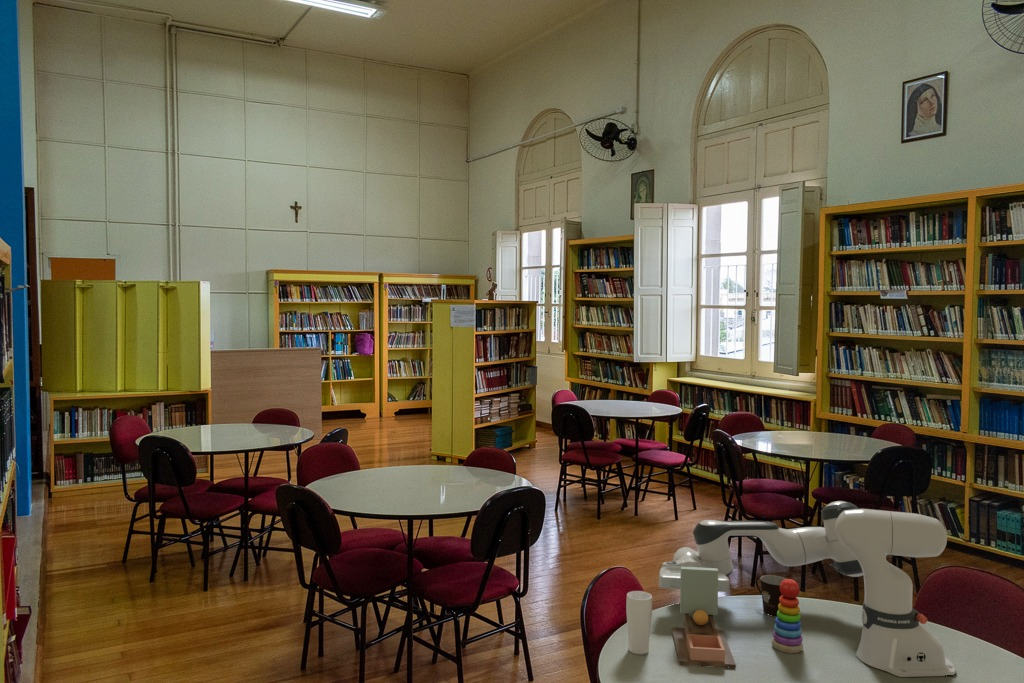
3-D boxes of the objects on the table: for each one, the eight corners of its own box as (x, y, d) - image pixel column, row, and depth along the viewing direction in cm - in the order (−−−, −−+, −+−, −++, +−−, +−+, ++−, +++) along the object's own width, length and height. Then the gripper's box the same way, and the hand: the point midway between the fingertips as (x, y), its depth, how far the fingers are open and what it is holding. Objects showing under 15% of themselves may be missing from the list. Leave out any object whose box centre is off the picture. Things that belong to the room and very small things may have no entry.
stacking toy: (766, 647, 198) (768, 579, 198) (779, 638, 204) (780, 571, 204) (795, 657, 193) (797, 586, 193) (807, 647, 199) (809, 578, 198)
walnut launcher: (722, 633, 207) (722, 612, 207) (735, 668, 186) (736, 644, 186) (671, 630, 209) (672, 609, 209) (679, 664, 188) (679, 640, 188)
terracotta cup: (719, 648, 195) (719, 635, 195) (724, 663, 187) (725, 650, 187) (686, 646, 196) (686, 633, 196) (690, 661, 188) (690, 647, 188)
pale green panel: (716, 616, 206) (717, 568, 205) (717, 619, 204) (718, 570, 203) (679, 614, 207) (680, 566, 207) (680, 617, 205) (681, 568, 205)
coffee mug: (794, 618, 218) (794, 585, 218) (765, 618, 218) (765, 584, 218) (780, 603, 230) (781, 572, 230) (752, 603, 230) (753, 571, 230)
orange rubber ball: (707, 622, 203) (707, 607, 202) (709, 628, 199) (709, 613, 199) (692, 621, 203) (692, 607, 203) (694, 627, 199) (694, 612, 199)
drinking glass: (651, 658, 192) (652, 601, 191) (625, 655, 193) (625, 598, 193) (651, 646, 198) (652, 591, 198) (626, 644, 200) (627, 589, 199)
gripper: (725, 586, 223) (733, 603, 209) (657, 582, 225) (660, 599, 211) (726, 565, 223) (734, 581, 209) (657, 562, 225) (660, 577, 211)
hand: (696, 590), depth 210 cm, fingers closed
